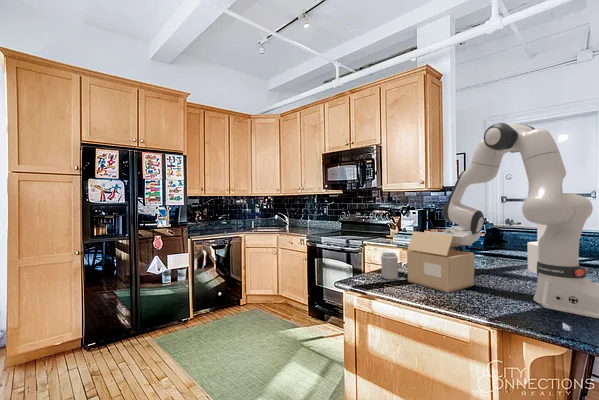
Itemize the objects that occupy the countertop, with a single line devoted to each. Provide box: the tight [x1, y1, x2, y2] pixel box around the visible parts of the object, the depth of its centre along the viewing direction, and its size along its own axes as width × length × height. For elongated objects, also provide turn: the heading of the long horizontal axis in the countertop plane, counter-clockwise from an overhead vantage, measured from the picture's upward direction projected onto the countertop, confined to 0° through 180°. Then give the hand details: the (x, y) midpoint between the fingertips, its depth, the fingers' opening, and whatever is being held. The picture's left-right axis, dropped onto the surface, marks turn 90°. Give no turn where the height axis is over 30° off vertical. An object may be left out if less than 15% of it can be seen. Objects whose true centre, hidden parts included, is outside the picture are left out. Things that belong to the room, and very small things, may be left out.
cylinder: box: [526, 224, 547, 274], centre depth 154 cm, size 17×17×28 cm
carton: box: [406, 249, 475, 293], centre depth 138 cm, size 21×19×14 cm
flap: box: [407, 231, 453, 256], centre depth 135 cm, size 19×9×1 cm
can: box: [380, 252, 399, 281], centre depth 149 cm, size 8×8×12 cm
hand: (434, 239), depth 137 cm, fingers closed
